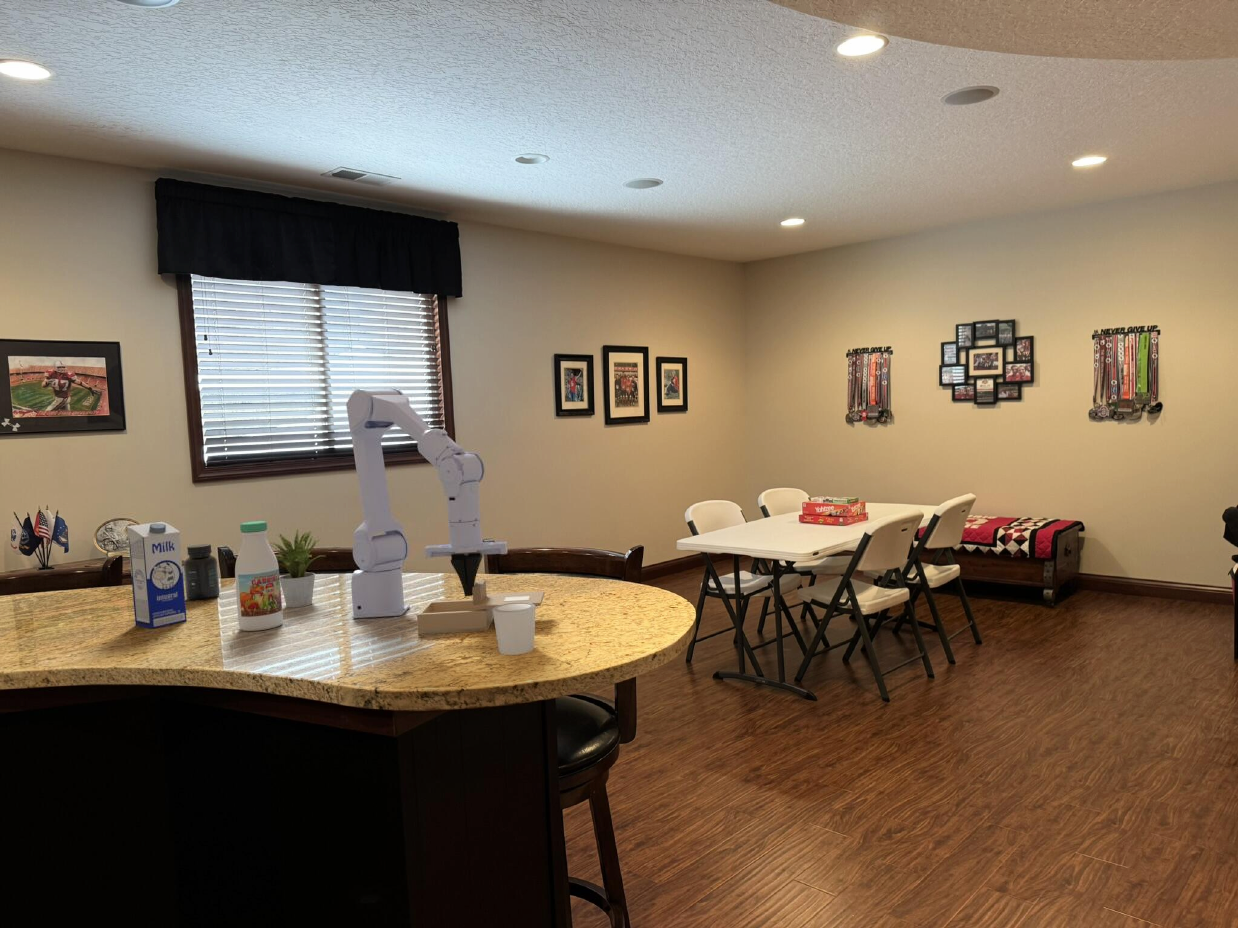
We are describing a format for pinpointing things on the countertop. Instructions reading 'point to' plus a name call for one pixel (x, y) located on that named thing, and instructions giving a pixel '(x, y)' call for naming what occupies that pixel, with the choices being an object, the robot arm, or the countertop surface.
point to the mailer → (452, 618)
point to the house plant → (297, 570)
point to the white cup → (515, 627)
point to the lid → (502, 597)
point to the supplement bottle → (201, 573)
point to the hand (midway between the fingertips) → (469, 595)
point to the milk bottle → (257, 580)
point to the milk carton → (156, 575)
